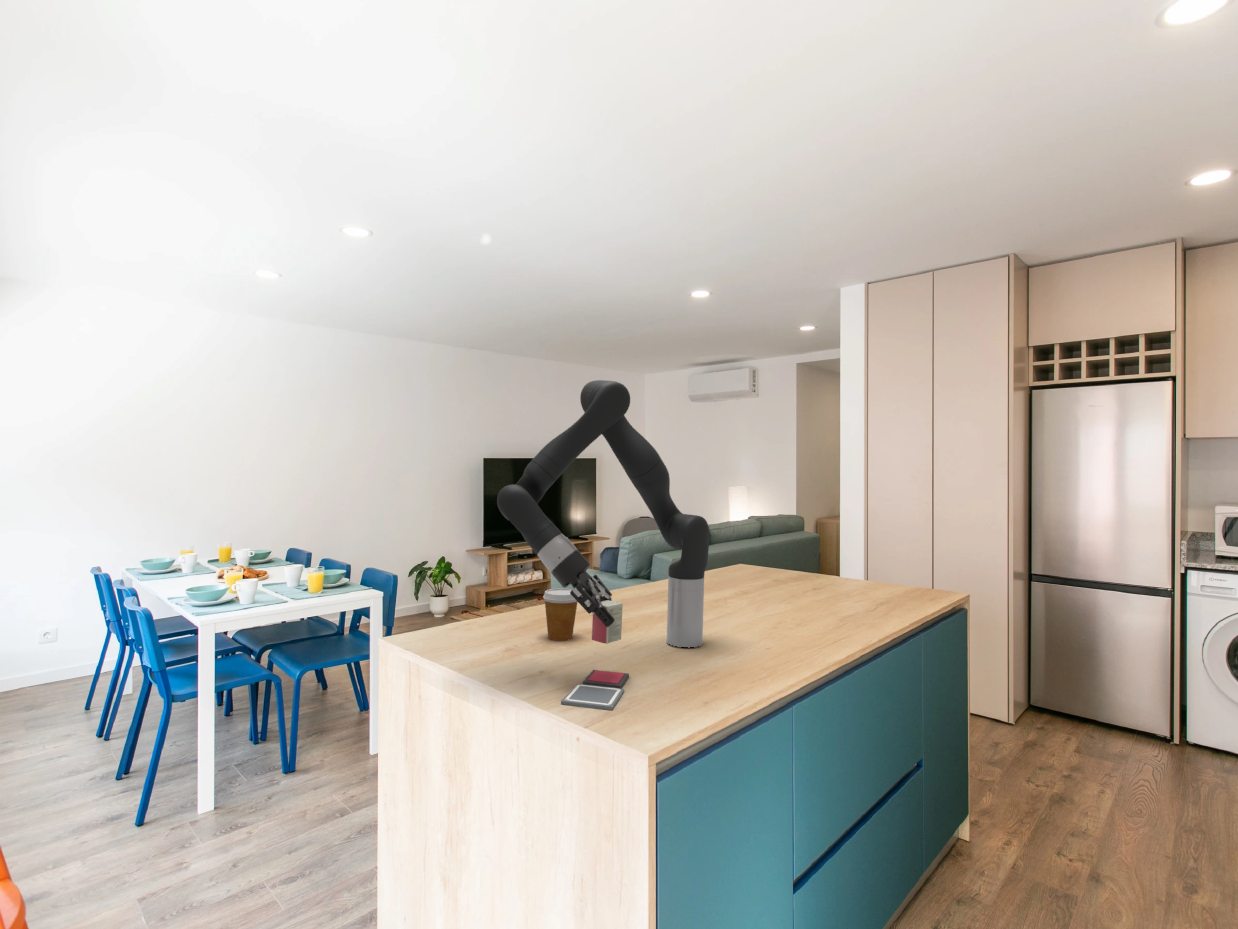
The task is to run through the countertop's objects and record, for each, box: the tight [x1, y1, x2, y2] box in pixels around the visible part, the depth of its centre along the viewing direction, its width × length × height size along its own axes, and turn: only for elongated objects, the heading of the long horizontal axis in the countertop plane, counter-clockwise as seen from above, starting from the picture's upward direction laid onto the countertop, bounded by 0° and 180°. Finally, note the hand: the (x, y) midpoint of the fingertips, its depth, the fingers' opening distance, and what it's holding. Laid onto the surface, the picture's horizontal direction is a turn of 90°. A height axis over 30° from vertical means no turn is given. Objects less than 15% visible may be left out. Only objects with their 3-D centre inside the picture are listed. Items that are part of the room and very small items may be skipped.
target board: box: [560, 683, 625, 711], centre depth 125 cm, size 10×10×1 cm
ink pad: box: [582, 669, 630, 689], centre depth 134 cm, size 8×8×1 cm
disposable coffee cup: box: [542, 588, 578, 642], centre depth 167 cm, size 10×10×12 cm
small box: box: [591, 600, 624, 645], centre depth 134 cm, size 5×4×8 cm
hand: (615, 620), depth 134 cm, fingers closed on small box, 6 cm apart
